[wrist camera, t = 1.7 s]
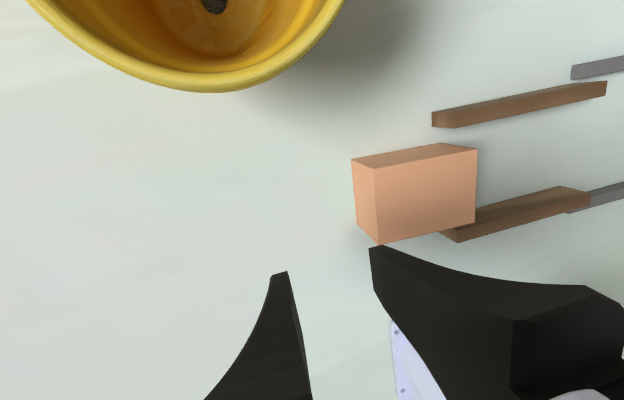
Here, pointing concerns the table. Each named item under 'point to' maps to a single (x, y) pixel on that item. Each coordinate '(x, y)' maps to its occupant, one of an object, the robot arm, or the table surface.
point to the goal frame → (591, 70)
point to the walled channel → (531, 204)
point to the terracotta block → (415, 191)
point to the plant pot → (193, 37)
